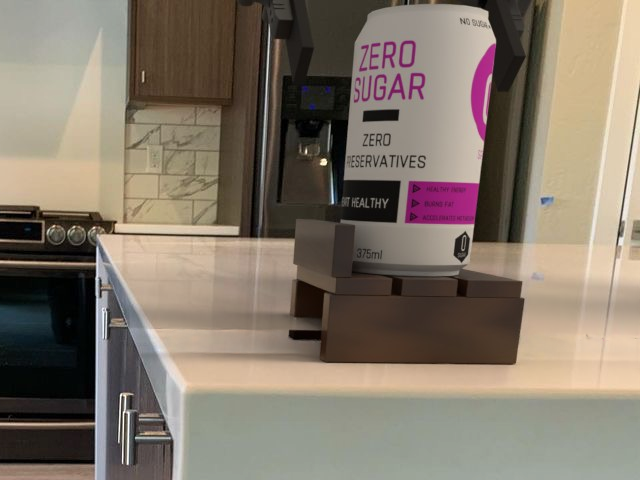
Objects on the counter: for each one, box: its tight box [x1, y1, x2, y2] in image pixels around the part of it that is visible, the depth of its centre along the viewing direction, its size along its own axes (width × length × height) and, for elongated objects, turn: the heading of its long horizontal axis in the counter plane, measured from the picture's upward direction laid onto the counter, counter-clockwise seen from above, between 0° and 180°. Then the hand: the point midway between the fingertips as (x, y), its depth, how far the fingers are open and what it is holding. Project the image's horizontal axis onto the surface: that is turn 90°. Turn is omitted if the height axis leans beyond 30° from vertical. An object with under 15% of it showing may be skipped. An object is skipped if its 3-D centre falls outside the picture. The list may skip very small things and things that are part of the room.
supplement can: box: [339, 3, 496, 277], centre depth 59 cm, size 8×8×15 cm
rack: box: [288, 218, 526, 365], centre depth 61 cm, size 12×10×8 cm
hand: (408, 70), depth 60 cm, fingers open, 13 cm apart
